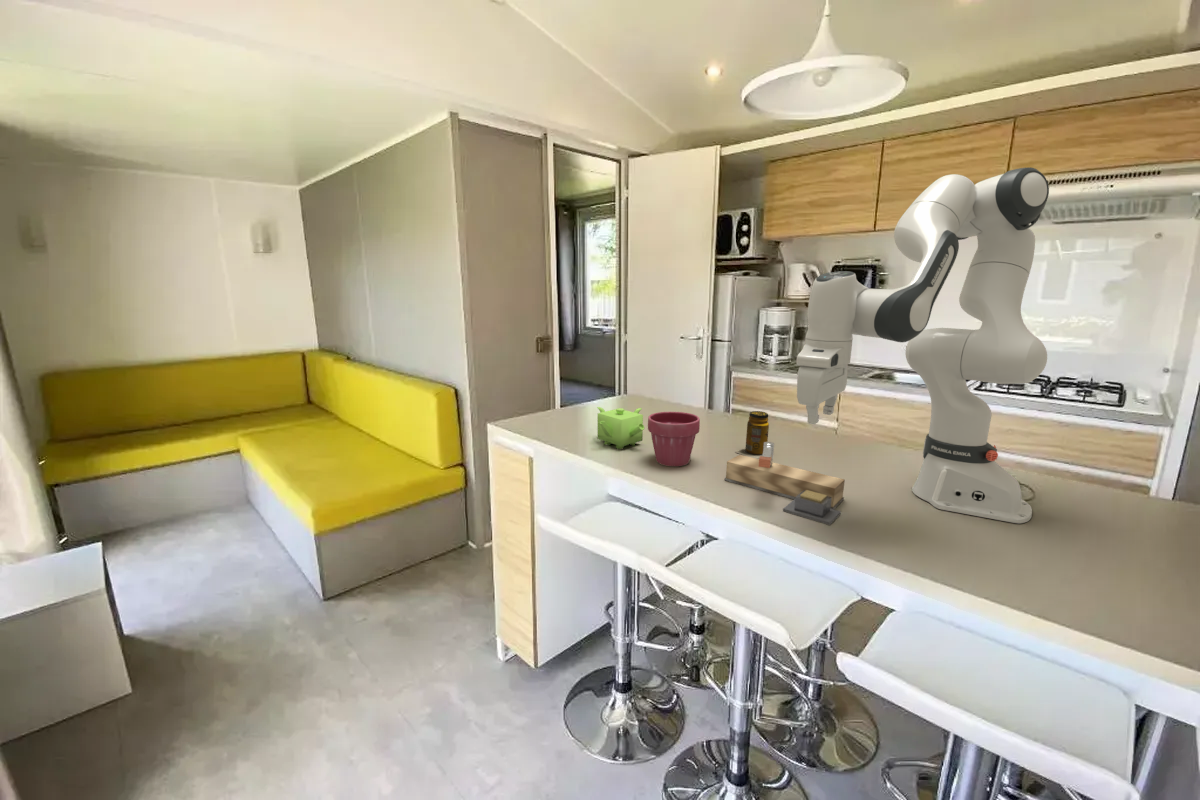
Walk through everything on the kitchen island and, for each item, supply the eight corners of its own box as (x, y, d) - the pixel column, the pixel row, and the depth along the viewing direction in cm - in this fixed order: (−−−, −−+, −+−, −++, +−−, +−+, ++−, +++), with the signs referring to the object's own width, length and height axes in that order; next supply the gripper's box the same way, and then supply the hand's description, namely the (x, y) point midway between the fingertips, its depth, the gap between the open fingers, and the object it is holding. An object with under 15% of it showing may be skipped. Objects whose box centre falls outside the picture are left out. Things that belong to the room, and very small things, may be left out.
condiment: (772, 452, 152) (775, 413, 150) (757, 459, 147) (760, 418, 144) (750, 446, 158) (753, 408, 155) (735, 453, 152) (737, 413, 149)
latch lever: (768, 484, 115) (770, 460, 114) (757, 483, 116) (759, 458, 115) (772, 464, 127) (774, 442, 126) (762, 463, 128) (764, 441, 127)
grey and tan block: (830, 510, 113) (831, 495, 112) (822, 517, 109) (824, 502, 108) (802, 502, 117) (804, 488, 116) (794, 509, 113) (795, 494, 112)
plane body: (843, 499, 120) (846, 479, 119) (833, 510, 114) (835, 489, 113) (738, 472, 137) (739, 454, 135) (724, 480, 131) (725, 461, 130)
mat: (840, 513, 113) (840, 511, 112) (830, 525, 107) (830, 522, 107) (794, 501, 119) (795, 498, 119) (782, 511, 114) (783, 508, 114)
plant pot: (655, 450, 154) (656, 408, 151) (702, 456, 149) (704, 413, 146) (640, 466, 141) (641, 420, 138) (691, 473, 136) (693, 426, 133)
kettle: (597, 436, 167) (597, 402, 165) (641, 437, 167) (641, 403, 165) (596, 451, 153) (596, 414, 150) (644, 452, 153) (645, 415, 150)
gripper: (827, 346, 115) (821, 406, 119) (793, 357, 100) (787, 426, 104) (858, 349, 111) (851, 411, 115) (827, 360, 96) (819, 431, 100)
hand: (820, 418), depth 109 cm, fingers open, 8 cm apart
